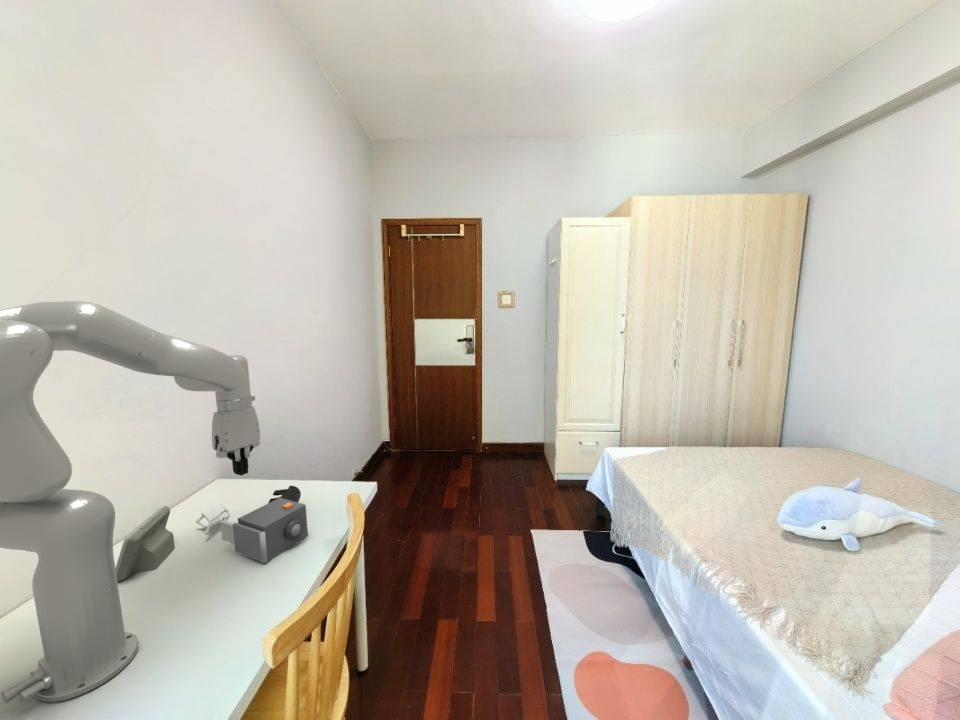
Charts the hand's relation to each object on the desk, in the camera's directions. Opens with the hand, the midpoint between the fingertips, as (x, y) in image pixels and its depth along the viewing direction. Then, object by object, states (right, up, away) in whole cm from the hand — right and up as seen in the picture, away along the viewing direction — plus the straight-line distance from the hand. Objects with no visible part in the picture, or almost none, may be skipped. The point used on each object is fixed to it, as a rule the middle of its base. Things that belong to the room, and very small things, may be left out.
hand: (241, 473), depth 101 cm
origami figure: (-13, -19, +9) cm, 24 cm away
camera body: (+8, -19, +1) cm, 21 cm away
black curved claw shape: (+3, -17, +17) cm, 24 cm away
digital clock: (-20, -21, -5) cm, 29 cm away
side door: (+3, -19, -4) cm, 20 cm away
